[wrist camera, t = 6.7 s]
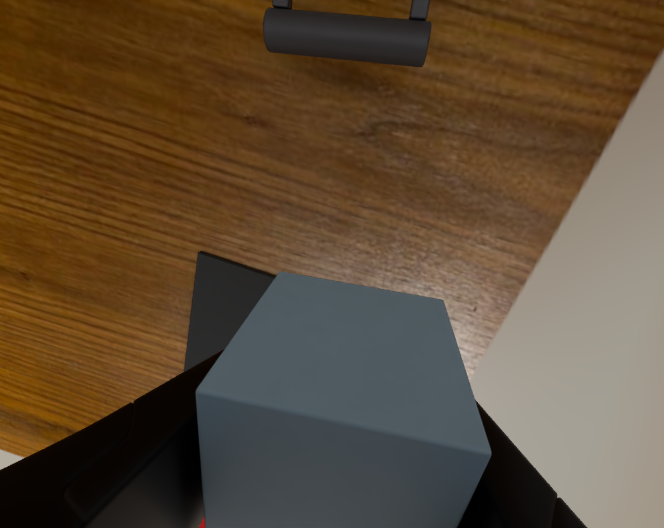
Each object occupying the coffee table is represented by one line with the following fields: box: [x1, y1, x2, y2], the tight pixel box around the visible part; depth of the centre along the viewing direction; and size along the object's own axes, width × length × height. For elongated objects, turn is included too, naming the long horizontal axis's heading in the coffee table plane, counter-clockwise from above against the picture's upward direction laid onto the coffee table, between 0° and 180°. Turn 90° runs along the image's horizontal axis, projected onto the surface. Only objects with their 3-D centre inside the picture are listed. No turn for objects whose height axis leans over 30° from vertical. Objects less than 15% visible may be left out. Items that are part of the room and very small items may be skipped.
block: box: [196, 272, 491, 528], centre depth 7 cm, size 4×4×4 cm
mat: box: [184, 251, 276, 372], centre depth 28 cm, size 16×24×1 cm, turn 164°
